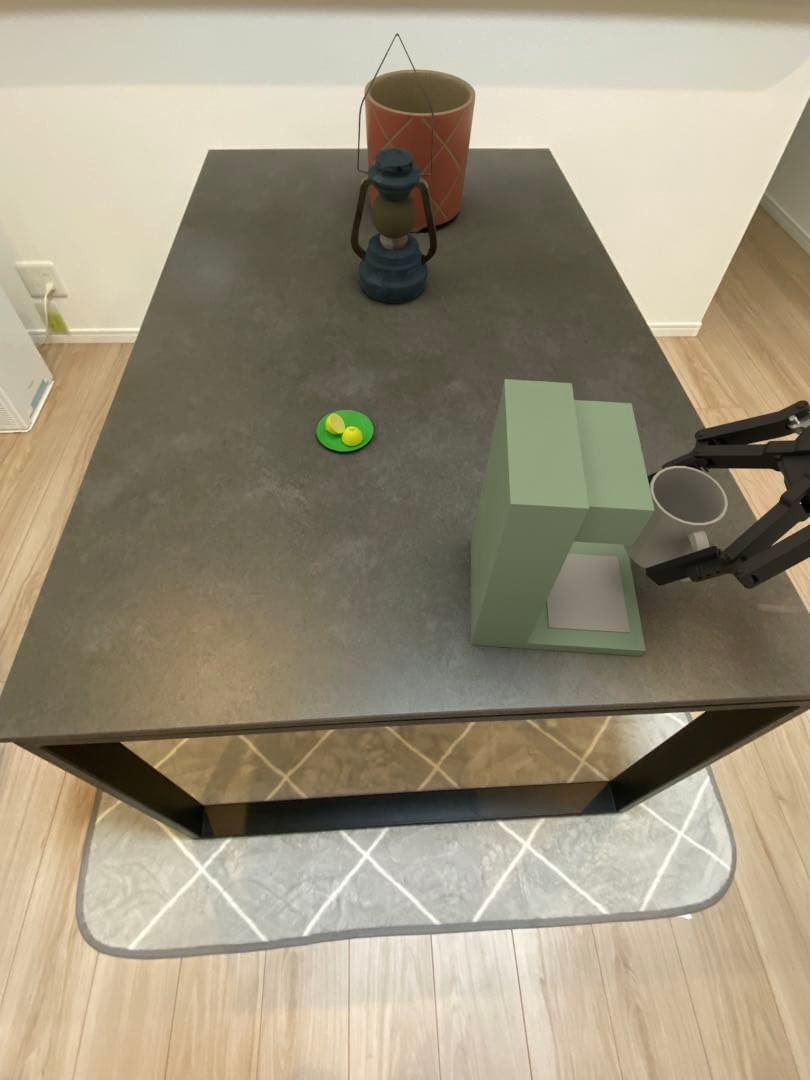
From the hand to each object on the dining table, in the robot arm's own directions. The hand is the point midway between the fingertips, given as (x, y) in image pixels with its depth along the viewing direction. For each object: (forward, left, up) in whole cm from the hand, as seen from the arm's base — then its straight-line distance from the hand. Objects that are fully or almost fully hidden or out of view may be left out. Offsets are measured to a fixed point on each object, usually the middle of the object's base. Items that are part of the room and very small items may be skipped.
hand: (643, 533), depth 61 cm
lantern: (+39, -53, -13) cm, 67 cm away
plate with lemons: (+37, -17, -13) cm, 43 cm away
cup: (-3, 0, -4) cm, 5 cm away
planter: (+41, -79, -13) cm, 90 cm away
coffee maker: (+6, +2, -13) cm, 14 cm away
